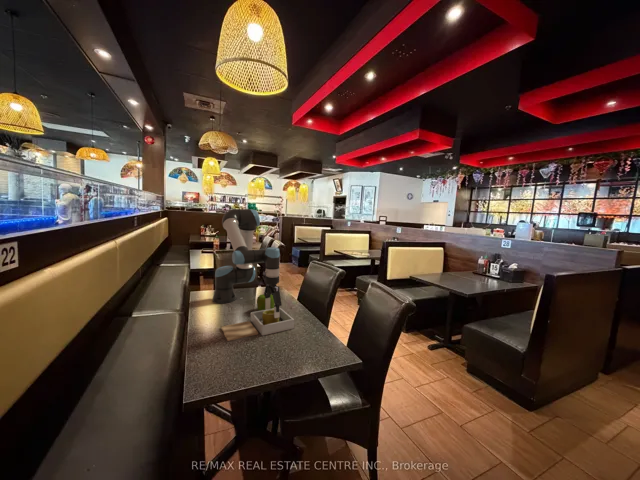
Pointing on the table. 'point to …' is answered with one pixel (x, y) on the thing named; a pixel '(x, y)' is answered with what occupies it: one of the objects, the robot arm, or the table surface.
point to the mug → (269, 317)
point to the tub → (272, 327)
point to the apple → (262, 302)
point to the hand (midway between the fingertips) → (272, 313)
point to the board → (238, 330)
